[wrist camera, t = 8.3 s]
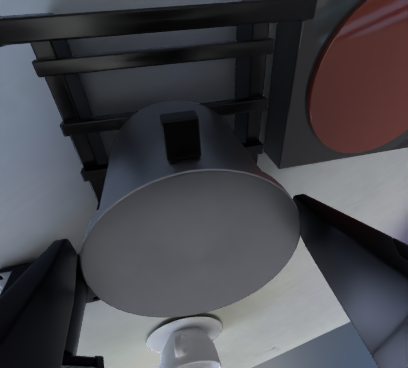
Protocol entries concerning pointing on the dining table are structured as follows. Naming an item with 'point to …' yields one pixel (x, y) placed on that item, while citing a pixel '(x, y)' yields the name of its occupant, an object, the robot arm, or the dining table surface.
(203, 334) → the teacup
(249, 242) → the steel pot
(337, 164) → the dining table surface
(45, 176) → the dining table surface
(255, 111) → the drying rack
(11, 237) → the dining table surface
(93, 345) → the dining table surface
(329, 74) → the hot plate
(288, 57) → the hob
